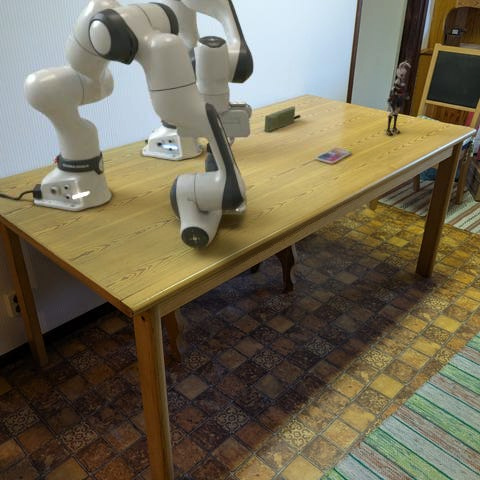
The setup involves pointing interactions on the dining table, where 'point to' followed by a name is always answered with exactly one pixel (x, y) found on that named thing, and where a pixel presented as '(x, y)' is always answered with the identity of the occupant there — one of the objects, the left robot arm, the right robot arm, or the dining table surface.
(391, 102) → the figurine
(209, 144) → the cap
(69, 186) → the left robot arm
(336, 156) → the smartphone
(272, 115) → the handheld radio
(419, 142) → the dining table surface
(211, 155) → the bottle
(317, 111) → the dining table surface
